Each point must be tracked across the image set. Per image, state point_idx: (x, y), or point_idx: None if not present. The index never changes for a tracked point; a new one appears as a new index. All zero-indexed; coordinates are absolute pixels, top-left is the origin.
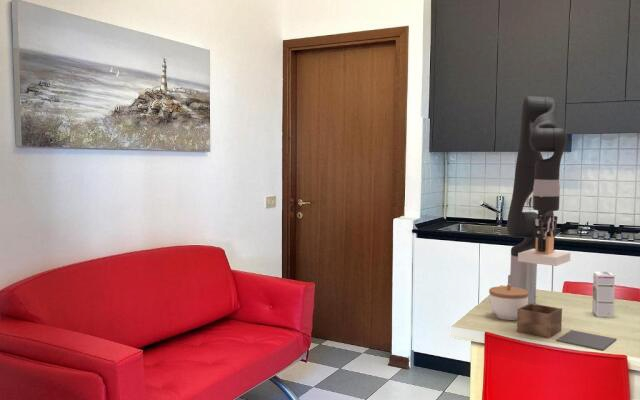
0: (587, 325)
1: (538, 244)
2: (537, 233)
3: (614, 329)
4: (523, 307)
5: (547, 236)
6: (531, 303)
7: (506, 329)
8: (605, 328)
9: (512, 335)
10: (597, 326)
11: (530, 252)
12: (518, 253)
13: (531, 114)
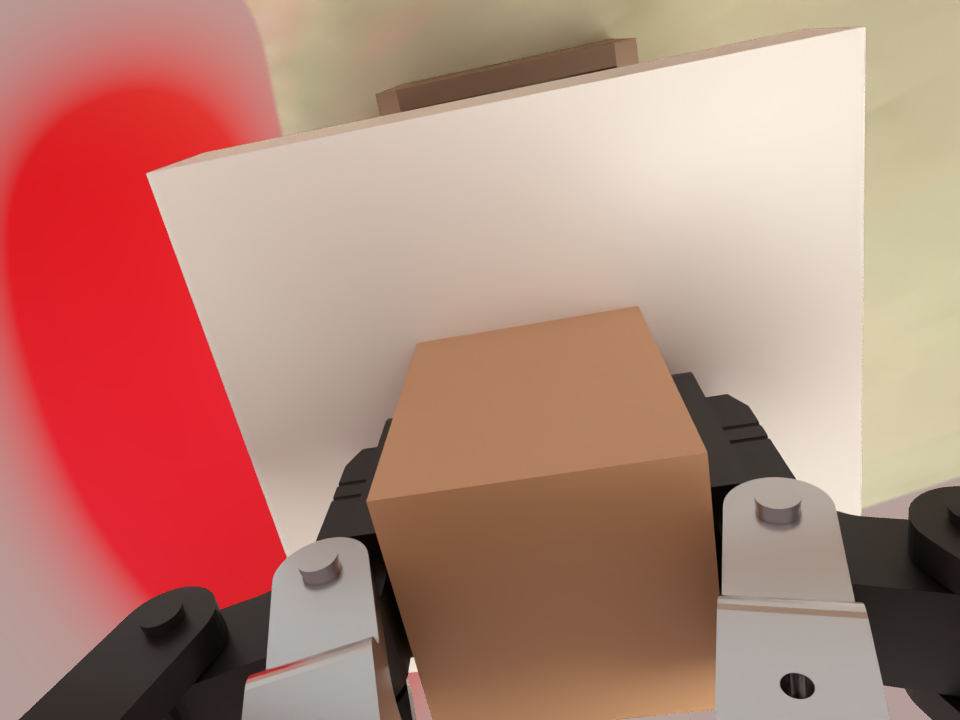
0: (874, 284)
1: (330, 510)
2: (274, 641)
3: (893, 413)
4: (460, 91)
5: (630, 629)
6: (633, 50)
7: (386, 6)
8: (879, 376)
9: (312, 117)
10: (892, 330)
11: (390, 269)
12: (150, 181)
13: None
